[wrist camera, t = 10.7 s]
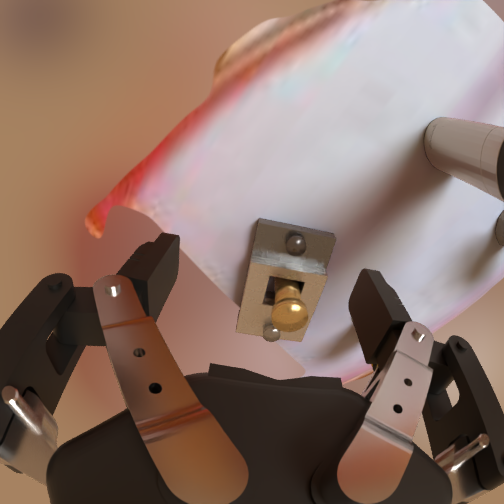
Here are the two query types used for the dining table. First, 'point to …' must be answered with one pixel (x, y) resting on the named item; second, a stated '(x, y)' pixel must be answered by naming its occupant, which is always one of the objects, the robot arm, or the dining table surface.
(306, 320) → the brass pin
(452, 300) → the dining table surface
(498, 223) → the coffeepot
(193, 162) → the dining table surface
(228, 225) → the dining table surface
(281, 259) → the slotted plate with knobs
